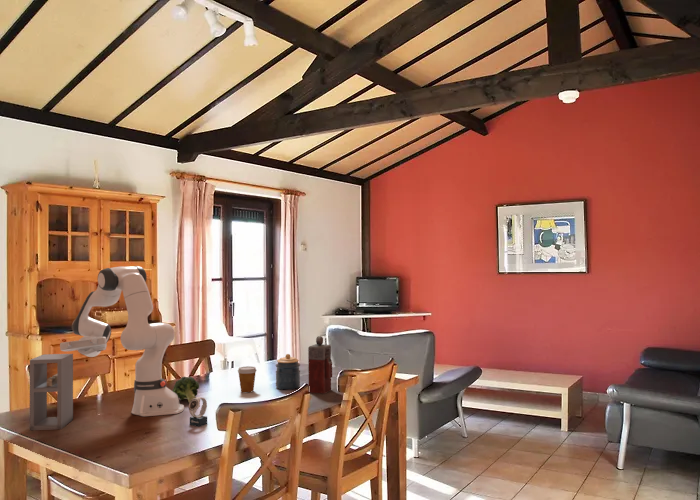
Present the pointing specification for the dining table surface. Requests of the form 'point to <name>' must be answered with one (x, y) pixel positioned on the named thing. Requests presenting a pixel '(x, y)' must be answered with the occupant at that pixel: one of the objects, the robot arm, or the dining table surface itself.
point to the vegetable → (186, 388)
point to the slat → (52, 380)
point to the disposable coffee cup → (247, 378)
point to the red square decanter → (319, 367)
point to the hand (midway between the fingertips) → (80, 342)
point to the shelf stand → (40, 391)
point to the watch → (193, 406)
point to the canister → (287, 373)
